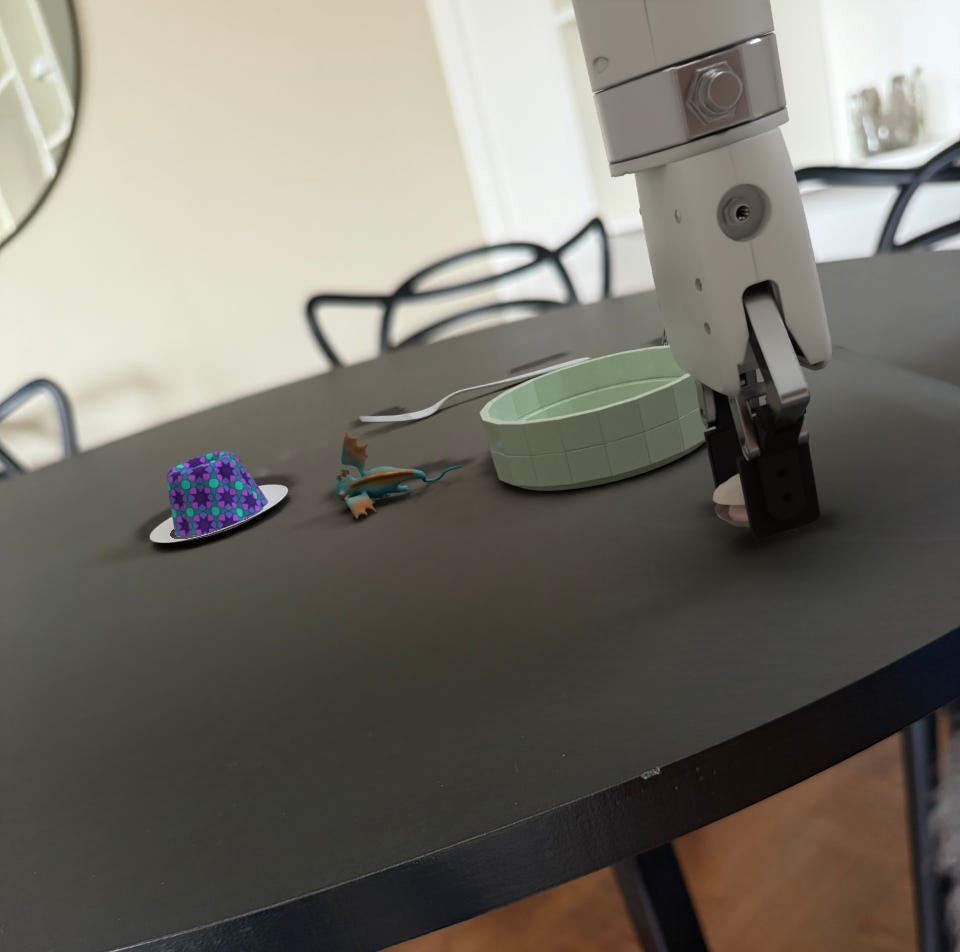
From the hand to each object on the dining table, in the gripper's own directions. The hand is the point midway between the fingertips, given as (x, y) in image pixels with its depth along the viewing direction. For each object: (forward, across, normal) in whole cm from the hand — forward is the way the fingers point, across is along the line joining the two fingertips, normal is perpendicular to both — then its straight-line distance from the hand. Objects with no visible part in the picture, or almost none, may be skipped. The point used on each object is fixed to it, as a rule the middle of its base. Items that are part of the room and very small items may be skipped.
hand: (766, 508), depth 50 cm
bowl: (+2, +24, +4) cm, 24 cm away
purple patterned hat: (+1, +37, +35) cm, 51 cm away
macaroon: (+1, 0, 0) cm, 1 cm away
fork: (+2, +56, +11) cm, 57 cm away
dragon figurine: (+2, +28, +20) cm, 34 cm away
